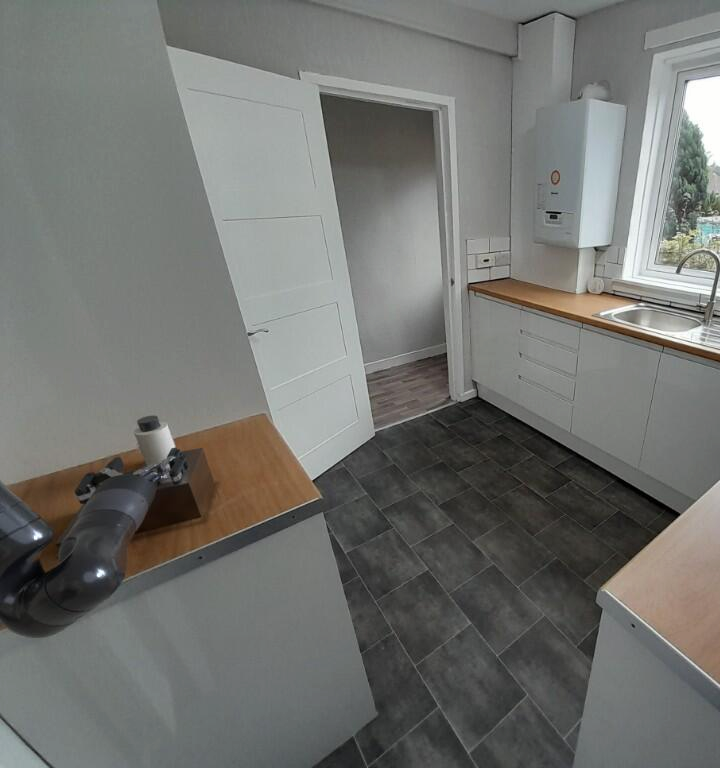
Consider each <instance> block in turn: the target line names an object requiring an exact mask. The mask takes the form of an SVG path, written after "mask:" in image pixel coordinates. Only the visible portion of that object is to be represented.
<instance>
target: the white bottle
mask: <svg viewBox="0 0 720 768" xmlns="http://www.w3.org/2000/svg"><path fill="white" fill-rule="evenodd" d="M136 424H137V426H138V427H137V428H135V429H134V430H133V435H134V437H135V439H136V443H137V442H138V445H139V447H140V449H141V452H142V454H143V455H142V454H141V455H142V457H143V459H144V463H145V462H146V464H147V466H149V465H151V464H152V463H154V462H156V461H158V462H161V461H163V460H164V459H166V458H167V456H168V454H169V452H170V450H171V448H175V447H176V448H177V446H176V443H175V440H174V438H173V436H172V432H171V430H170V427H169V425H168V422H167V421H160V419H159V416H158V415H153V414H152V415H147V416H143V417H140V418H139V419H137V421H136ZM141 452H140V453H141ZM165 467H166V469H167V468H169V467H170V466H169V464H167V465H166V466H165ZM153 471H155V472H157V469H154V470H153ZM157 473H158V472H157Z"/></svg>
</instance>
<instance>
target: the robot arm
mask: <svg viewBox="0 0 720 768" xmlns="http://www.w3.org/2000/svg"><path fill="white" fill-rule="evenodd" d="M181 452H182V451H181V450H180V448H179V449H178V448H177V446H176V447H175V448H171V450H170V452H169V454H168V456H167V458H166V459H164V460H163V461H161V462H158V461H156V462H154V463H152V464H151V465H149V466H147V467H145V468H142V467H141V468H142V469H141V468H139V469H135V470H134V469H133V470H127V471H124V472H122V470H123V469H124V465H125V464H124V462H123V460H122V458H121V457H120V456H118V457H114V458H113V459H112V460H111V461H109V462H108V464H106V467H104V468H101V469H100V470H99V472H93V471H92V472H91V471H90V472H88V473H86V474H85V475H84V476H83V477H82V479H81V481H80V482H79V483H78V485H77V487H76V488H75V490H74V494H75V496H76V498H77V500H78V502H79V503H80V505H83V504H85V503H86V504H85V506H84V507H83V508H82V510H81V511H80V513H79V515H78V517H77V520H76V522H75V524H74V525H73V526H72V528H71V529H70V531H69V532H68V534H67V535H66V536H65V538H64V539H63V541H62V543H61V545H60V547H59V550H58V549H57V550H58V551H57V559H58V561H59V563H57V564H56V565H54V566H52V567H51V568H50V569H48V570H47V571H45V569H44V567H43V564H42V561H41V559H40V558H41V554H42V553H43V552H44V551H45V550H46V549H47V548H48V546H49V545H50V544H52V543H53V541H54V540H55V538H56V531H55V528H54V527H52V525H51V524H50V523H48V522H47V521H46V520H45V519H44V518H42V516H40V515H39V514H38V513H37V512H36V511H35V510H33V508H31V506H30V505H28V504H27V503H26V502H24V500H23V499H21V498H20V497H19V496H18V495H17V494H15V493H14V492H13V491H12V490H11V489H10V488H9V487H8V486H7V485H6V484H5V483H4V482H2V480H0V623H1V624H2V625H3V626H4V628H5V629H7V630H9V632H11V633H13V634H16V635H18V636H21V637H24V638H31V639H43V638H48V637H51V636H55V635H56V634H59V633H60V632H62V631H64V630H65V629H67V628H68V627H70V626H71V625H73V624H74V623H75V622H77V621H78V620H79V619H81V618H82V617H84V616H86V615H87V614H88V613H90V612H91V611H92V610H94V609H96V608H97V607H98V606H100V605H101V604H103V603H104V602H105V601H107V600H108V599H109V598H110V597H111V596H112V595H114V593H115V592H116V591H117V590H119V588H120V586H121V585H122V583H123V582H124V579H125V577H126V574H127V561H128V547H129V545H130V543H131V542H132V539H133V537H134V536H135V534H134V533H135V532H136V531H137V529H138V528H139V527H140V525H141V523H142V521H143V519H144V517H145V515H146V514H147V511H148V509H149V507H150V505H151V503H152V501H153V499H154V497H155V493H156V489H157V488H158V487H160V486H161V485H162V483H167V482H173V485H178V484H180V483H181V482H182V480H183V479H184V477H185V475H186V473H187V471H188V469H189V464H188V461H187V458H186V456H182V454H181ZM167 464H169V466H170V467H169V468H167V469H166V467H165V466H166V465H167ZM154 469H157V472H158V473H157V472H155V471H153V470H154Z"/></svg>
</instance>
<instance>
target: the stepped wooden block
mask: <svg viewBox="0 0 720 768" xmlns="http://www.w3.org/2000/svg"><path fill="white" fill-rule="evenodd" d="M180 452H181V454H182V456H186V458H187V461H188V464H189V469H188V471H187V473H186V475H185V477H184V479H183V480H182V482H181V483H180V484H178V485H173V482H167V483H162V485H161V486H160V487H158V488H157V489H156V493H155V497H154V499H153V501H152V503H151V505H150V507H149V509H148V511H147V514H146V515H145V517H144V519H143V521H142V523H141V525H140V527H139V528H138V529H137V531H136V532H135V533H134V535H136V534H137V535H138V534H141V533H144V532H148V531H152V530H156V529H160V528H165V527H168V526H172V525H176V524H180V523H184V522H187V521H192V520H195V519H199V518H202V517H203V513H204V510H205V508H206V505H207V501H208V499H209V495H210V492H211V490H212V486H213V484H214V481H215V480H214V477H213V474H212V471H211V469H210V465H209V463H208V459H207V457H206V453H205V450H204V447H199V448H194V449H188V450H182V451H180ZM145 467H147V464H146V462H145V461H144V463H143V464H142V466H141V468H140V469H142V468H145ZM85 504H86V503H85ZM85 504H82V505H81V507H80V508H79V510H78V511H77V512H76V514H75V515H74V517H73V518H72V519H71V520H70V522H69V524H68V525H67V527H66V528H65V529H64V530H63V532H62V533H61V535H60V536H59V538H58V539H57V541H56V542H55V543H54V545H55V547H56V548H57V550H59V547H60V545H61V543H62V541H63V539H64V538H65V536H66V535H67V534H68V532H69V531H70V529H71V528H72V526H73V525H74V524H75V522H76V520H77V517H78V515H79V513H80V511H81V510H82V508H83V507H84V506H85Z"/></svg>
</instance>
